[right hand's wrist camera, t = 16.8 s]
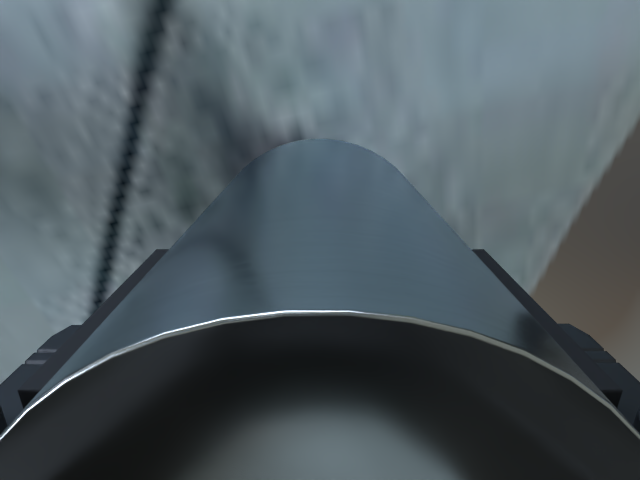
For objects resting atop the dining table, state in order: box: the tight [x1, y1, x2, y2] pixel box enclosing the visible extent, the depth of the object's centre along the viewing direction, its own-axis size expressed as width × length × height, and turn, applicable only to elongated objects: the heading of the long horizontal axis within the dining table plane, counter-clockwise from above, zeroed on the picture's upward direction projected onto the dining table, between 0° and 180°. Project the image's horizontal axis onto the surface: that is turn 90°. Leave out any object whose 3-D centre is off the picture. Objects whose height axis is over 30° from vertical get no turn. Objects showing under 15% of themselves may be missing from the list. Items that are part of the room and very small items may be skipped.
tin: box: [0, 139, 640, 480], centre depth 11 cm, size 9×9×13 cm
